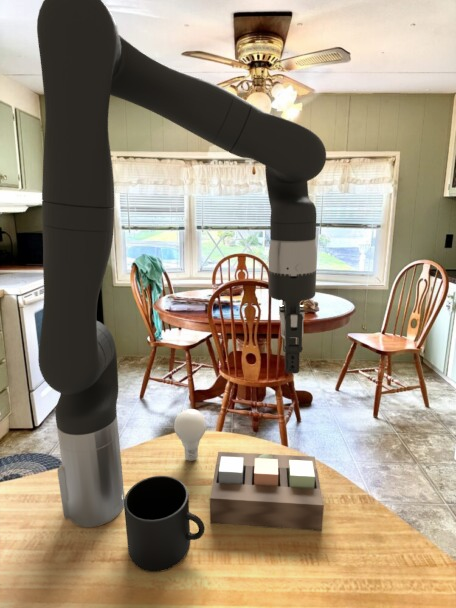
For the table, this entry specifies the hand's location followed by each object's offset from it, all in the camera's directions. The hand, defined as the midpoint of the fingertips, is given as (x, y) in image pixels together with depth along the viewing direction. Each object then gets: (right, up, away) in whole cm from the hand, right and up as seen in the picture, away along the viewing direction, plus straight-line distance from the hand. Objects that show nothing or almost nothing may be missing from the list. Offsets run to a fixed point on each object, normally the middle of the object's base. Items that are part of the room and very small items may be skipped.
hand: (290, 361), depth 69 cm
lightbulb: (-18, -22, +13) cm, 32 cm away
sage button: (+2, -22, +1) cm, 23 cm away
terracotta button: (-4, -22, +2) cm, 23 cm away
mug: (-20, -28, -7) cm, 35 cm away
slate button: (-10, -22, +2) cm, 25 cm away
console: (-4, -25, +3) cm, 25 cm away
